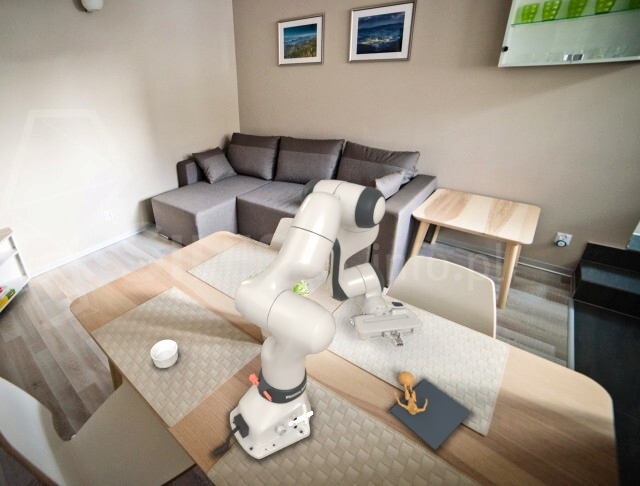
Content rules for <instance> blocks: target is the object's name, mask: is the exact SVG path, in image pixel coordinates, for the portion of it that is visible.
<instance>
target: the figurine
mask: <svg viewBox="0 0 640 486" xmlns="http://www.w3.org/2000/svg"><path fill="white" fill-rule="evenodd" d="M398 381H399V383H400V384H401V385H402V386H403V387H404V397H405V399H406V400H408V406H406V405H403V404H401V403H400V401H401V400H400V398H399V397H398V396H397V392H396V390H395V391H394V392H393V395H394V397H395V399H396V401H397V403H399V405H401V406H402V407H404V408H405V409H407V410H408V411H409V413H410V414H412V415H415V414H416V413H417V412H420V411H425V408H426V406H427V399H426V403H425V405H424V408H423V409H418V408H417V405H416V404H415V403H414V402H416V395H415V391H412V390H413V385H414V384H415V377H414V375H413V374H412V373H410V372H409V371H402V372H400V373H399V374H398ZM407 388H409V390H408V389H407ZM409 391H410V392H411V393H412V394H411V397H412V398H411V397H410V394H409V393H410V392H409Z"/></svg>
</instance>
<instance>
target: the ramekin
mask: <svg viewBox="0 0 640 486" xmlns="http://www.w3.org/2000/svg"><path fill="white" fill-rule="evenodd" d="M178 348H179V347H178V343H177V342H176V341H175V340H172V339H162V340H160V341H158V342H156V343H155V344H154V345H152V347H151V349H150V353H149V354H150V357H151V359H152V361H153V363H154V365H155V367H157V368H159V369H166V368H170V367H172V366H173V365H174V364H175V363H176V362H177V361H178V357H179V351H178Z"/></svg>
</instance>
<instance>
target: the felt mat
mask: <svg viewBox="0 0 640 486" xmlns="http://www.w3.org/2000/svg"><path fill="white" fill-rule="evenodd" d="M412 391H415V395H416V402H414V403H415V404H416V405H417V408H418V409H423V408H424V405H425V403H426V399H427V406H426V408H425V411H420V412H417V413H416V414H415V415H412V414H410V413H409V411H408V410H407V409H405V408H404V407H402V406H401V405H399V403H398V402H397V403H396V404H395V405H394V406H392V408H390V410H389V412H390V413H391V414H392V415H394V417H396V418H397V419H398V420H399V421H400V422H402V424H404V425H405V426H406V427H407V428H408V429H410V430H411V431H412V432H413V433H414V434H415V435H417V436H418V437H419V438H420V439H421V440H422V441H423V442H425V443H426V444H427V445H428V446H429V447H430V448H432V449H433V450H434V451H436V450H437V449H438V448H439V447H440V446H441V445H442V443H443V442H444V441H446V439H447V438H448V437H449V436H450V435H451V434H452V433H453V432H454V431H455V430H456V428H457V427H458V426H459V425H460V424H461V423H462V422H463V421H464V420H465V419H466V418H467V416H469V414H470V413H471V411H470V410H468V409H467V408H465V406H463V405H461V404H460V403H459V402H457V401H456V400H455V399H453V398H452V397H450V396H449V395H447V394H446V393H445V392H443V391H442V390H440V389H439V388H438V387H436V386H435V385H434V384H432V383H431V382H429V381H428V380H426V379H423V380H422V381H421V382H420V383H418V385H416V387H415V388H412ZM409 394H410V397H411V394H412V393H411V391H410V392H409ZM411 398H412V397H411ZM399 401H400V403H401V404H403V405H406V406H408V400H406V399H405V396H404V397H403V398H402V399H401V400H399Z"/></svg>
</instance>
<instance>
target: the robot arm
mask: <svg viewBox="0 0 640 486" xmlns="http://www.w3.org/2000/svg"><path fill="white" fill-rule="evenodd" d="M300 203H301V205H300V206H299V208H298V209H297V212H296V213H295V215H294V218H293V219H292V221H291V224H290V226H289V229H288V231H287V234H286V236H285V238H284V240H283V242H282V245H281V246H280V247H281V248H280V249H279V250H278V253H277V255H276V257H275V258H274V259H273V261H272V262H271V263H270V264H269V265H268V266H267V267H266V268H265V269H264V270H262V271H261V272H260V273H258V274H255V275H253V276H251V277H247V278H246V279H244V280H243V281H242V282H241V283H240V284H239V285H238V286H237V288H236V290H235V292H234V297H233V299H234V302H233V303H234V307H235V309H236V311H237V312H238V313H239V314H240V315H241V316H242V317H243V318H245V319H246V320H247V321H248V322H249V323H250V324H252V325H254V326H257V327H258V328H260V329H262V330H264V331H265V332H267V333H269V334H270V335H269V336H268V337H266V339H265V340H264V342H263V343H262V345H261V348H260V363H261V364H260V365H261V366H260V370H259V373H258V375H256V373H252V374H251V373H250V375H249V377H248V380H249V381H250V382H251V383H252V385H251V386H250V388H249V389H248V390H247V391H246V392H245V394H244V395H242V397H241V398H240V399H239V402H238V405H237V406H236V407H235V408H234V409H232V411H231V412H230V414H229V424H230V429H231V431H230V432H229V433H228V435H227V437H226V439H225V443H224V444H223V445H222V446H221V447H219V448H217V449H216V450H214V451H213V452H212V453H213V455H214V456H217V455H219V454H221V453H222V452H225V450H226V449H228V447H229V446H230V444H231V439H232V437H233V436H234V437H235V439H236V440H237V442H238V444H239V446H241V448H242V449H243V450H244V451H245V452H246V453H247V454H248V455H249V456H251V457H252V458H254V459H257V460H260V459H263V458H266V457H267V456H269V455H272V454H274V453H276V452H278V451H280V450H282V449H285V448H286V447H289V446H291V445H292V444H295V443H296V442H298V441H301V440H303V439H305V438H307V437H309V436H310V435H311V427H310V420H311V419H310V418H311V416H312V415H313V414H314V412H313V410H312V405H311V402H310V400H309V397H308V394H307V386H308V373H307V367H306V361H307V356H308V355H318V354H320V353H323V352H324V351H326V350H327V349H328V348H329V347H330V346H331V345H332V343H333V341H334V339H335V336H336V332H337V326H336V320H335V317H334V314H333V313H332V312H331V311H330V310H329V309H327V308H325V307H324V306H323V305H321V304H320V303H318V302H317V301H316V300H313V299H311V298H309V297H307V296H305V295H302V294H301V293H297V292H296V291H293V290H294V288H295V287H296V285H297V284H298V283H299V282H301V281H303V280H310V279H315V278H317V277H319V276H320V275H321V274H322V273H324V271H325V268H326V266H327V263H328V268H327V276H326V284H325V285H326V290H327V292H328V294H329V295H330V297H331V298H332V299H334V300H335V301H338V302H345V301H346V300H350V299H351V298H353V300H354V301H355V303H356V305H357V307H359V309H360V310H361V313H362V314H358V315H357V314H353V315H352V316H350V317H349V322H350V324H351V326H352V327H354V332H355V334H356V337H357V339H359V340H360V341H370V340H379V339H384V340H385V341H386V342H389V343H390V344H391V345H392V347H394V348H399V347H405V345H406V341H405V340H404V338H403V337H404V336H411V335H421V334H422V331H423V327H424V322H422V320H421V318H419V316H418V315H417V314H416V313H414V311H413V310H411V309H409V308H407V304H406V303H405V302H401V301H392V300H388V299H385V298H384V297H383V296H382V294H383V292H384V288H385V283H386V282H385V277H384V275H383V273H382V272H381V270H380V269H379V267H378V266H377V265H375V264H373V263H372V262H365V263H360V264H357V265H353V266H351V267H348V268H345V263H346V261H347V260H349V258H351V257H352V256H353V255H355V254H357V253H359V252H360V251H362V250H364V249H366V248H368V247H369V246H370V245H372V244H373V243H374V242H375V241H376V239H377V238H378V235H379V231H380V223H381V221H382V220H383V217H384V215H385V213H386V207H387V199H386V196H385V195H384V193H383V191H381V190H380V189H377V188H375V187H372V186H365V185H362V184H357V183H353V182H348V181H347V180H339V179H325V178H313V179H310V181H308V182H307V183H306V184H305V185H304V187H303V189H302V191H301V195H300ZM395 337H396V338H395Z"/></svg>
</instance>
